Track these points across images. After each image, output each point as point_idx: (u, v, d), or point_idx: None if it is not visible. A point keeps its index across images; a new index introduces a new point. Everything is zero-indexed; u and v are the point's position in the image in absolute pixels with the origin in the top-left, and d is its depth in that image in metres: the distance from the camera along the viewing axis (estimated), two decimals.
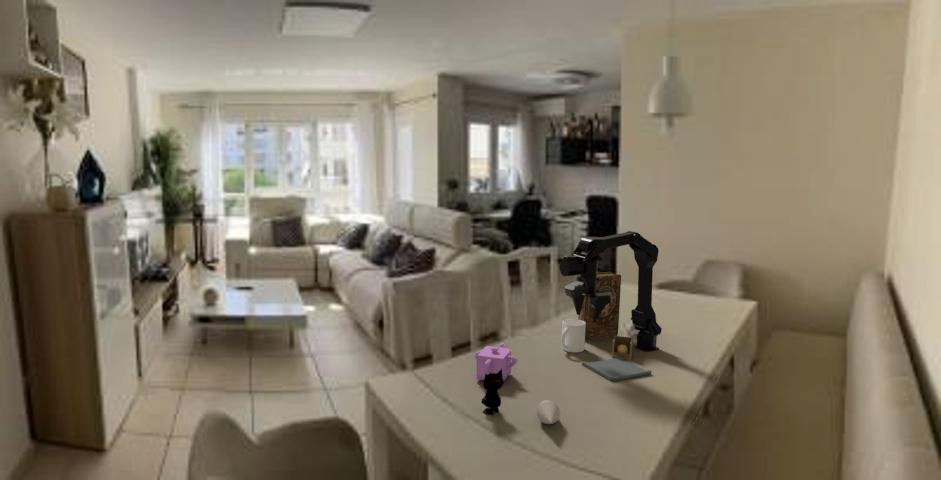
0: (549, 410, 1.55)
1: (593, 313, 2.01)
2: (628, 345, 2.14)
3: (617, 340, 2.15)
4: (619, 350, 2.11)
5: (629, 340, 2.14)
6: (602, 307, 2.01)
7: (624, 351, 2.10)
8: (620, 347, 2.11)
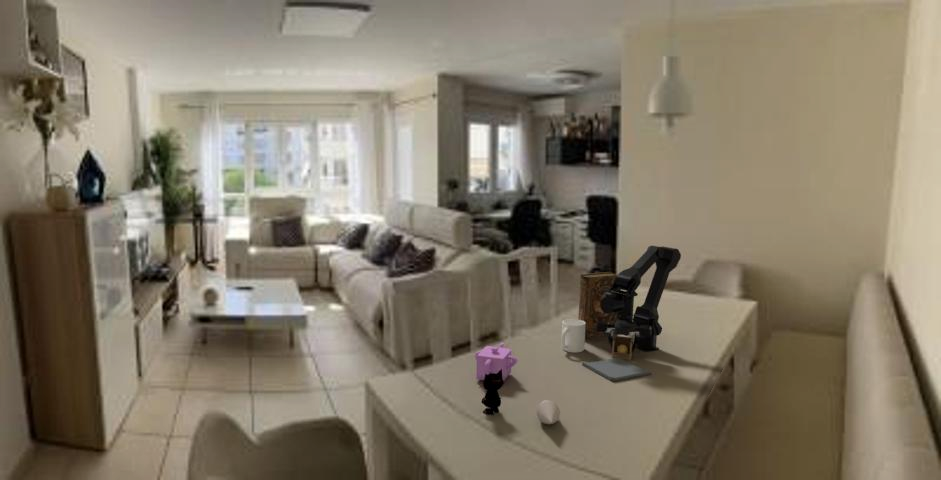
0: (550, 410, 1.55)
1: (634, 345, 2.10)
2: (628, 345, 2.14)
3: (617, 340, 2.15)
4: (619, 350, 2.11)
5: (629, 340, 2.14)
6: None
7: (624, 351, 2.10)
8: (620, 347, 2.11)
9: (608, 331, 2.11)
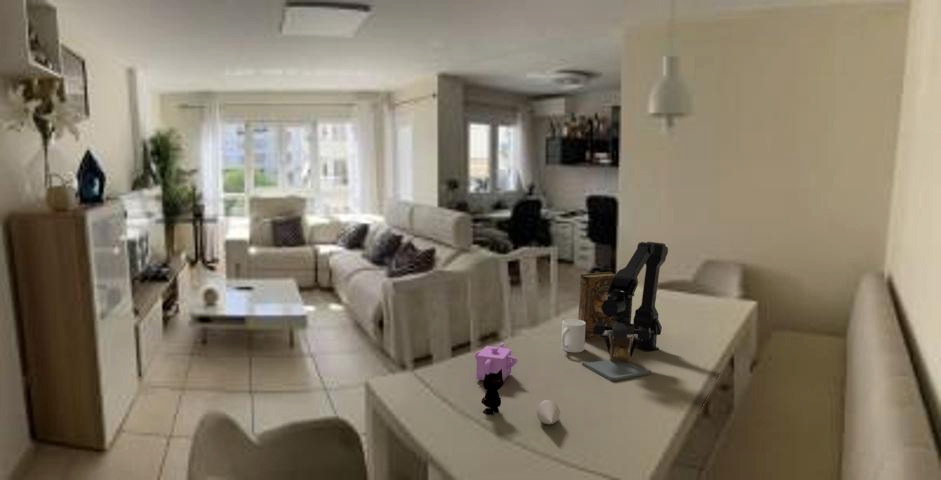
0: (550, 410, 1.55)
1: (633, 348, 2.01)
2: (627, 343, 2.07)
3: (616, 339, 2.07)
4: None
5: (628, 339, 2.05)
6: None
7: None
8: None
9: (605, 333, 2.03)
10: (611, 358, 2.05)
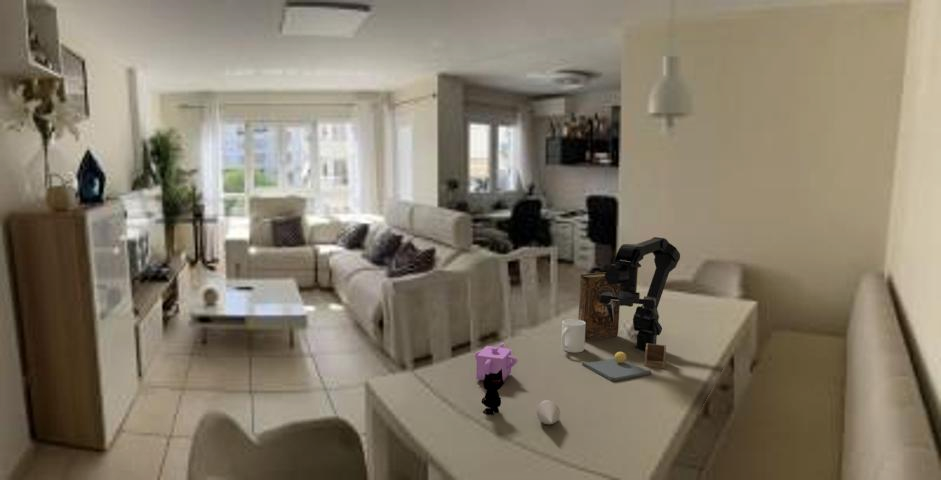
0: (550, 410, 1.55)
1: (641, 317, 2.07)
2: (661, 353, 2.07)
3: (649, 348, 2.08)
4: (617, 352, 2.04)
5: (662, 348, 2.06)
6: None
7: None
8: None
9: None
10: (645, 362, 2.03)
